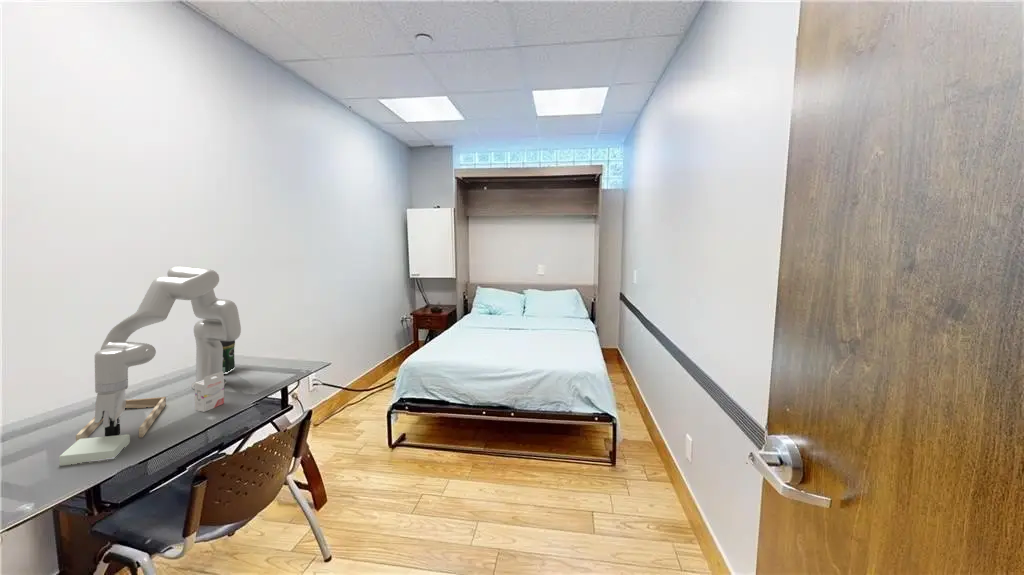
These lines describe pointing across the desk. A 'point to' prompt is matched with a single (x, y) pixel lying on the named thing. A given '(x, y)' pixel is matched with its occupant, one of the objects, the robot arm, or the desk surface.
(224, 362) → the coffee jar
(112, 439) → the cover plate
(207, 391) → the ink cartridge box
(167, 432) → the desk surface
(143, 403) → the wooden frame
